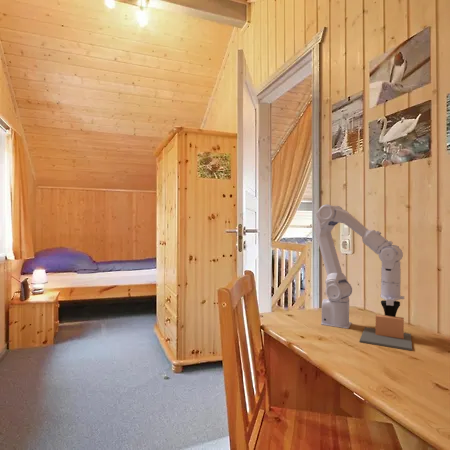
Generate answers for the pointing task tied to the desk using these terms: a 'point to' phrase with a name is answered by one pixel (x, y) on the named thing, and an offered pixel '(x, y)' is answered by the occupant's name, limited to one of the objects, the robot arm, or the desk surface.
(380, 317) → the slab
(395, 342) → the mat
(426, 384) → the desk surface
